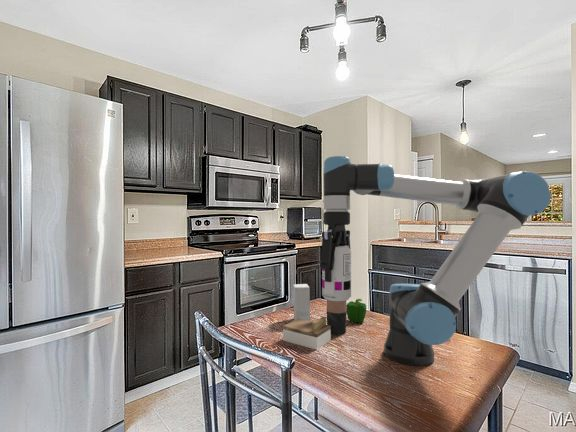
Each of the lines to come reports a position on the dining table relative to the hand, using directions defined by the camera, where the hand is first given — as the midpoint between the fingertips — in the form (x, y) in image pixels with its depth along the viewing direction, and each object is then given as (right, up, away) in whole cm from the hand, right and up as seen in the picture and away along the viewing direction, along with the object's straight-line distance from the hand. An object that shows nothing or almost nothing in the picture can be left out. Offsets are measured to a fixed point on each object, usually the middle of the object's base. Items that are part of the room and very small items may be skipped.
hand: (336, 290), depth 89 cm
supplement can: (0, -2, 0) cm, 2 cm away
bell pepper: (+15, -24, +45) cm, 53 cm away
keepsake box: (-7, -24, +23) cm, 34 cm away
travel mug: (+5, -24, +32) cm, 40 cm away
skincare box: (-8, -24, +44) cm, 51 cm away
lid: (-7, -19, +23) cm, 31 cm away
